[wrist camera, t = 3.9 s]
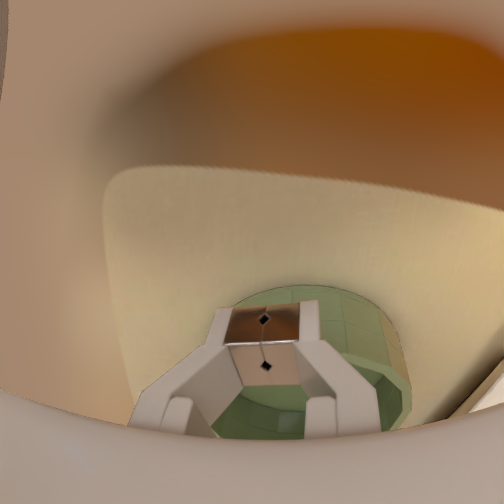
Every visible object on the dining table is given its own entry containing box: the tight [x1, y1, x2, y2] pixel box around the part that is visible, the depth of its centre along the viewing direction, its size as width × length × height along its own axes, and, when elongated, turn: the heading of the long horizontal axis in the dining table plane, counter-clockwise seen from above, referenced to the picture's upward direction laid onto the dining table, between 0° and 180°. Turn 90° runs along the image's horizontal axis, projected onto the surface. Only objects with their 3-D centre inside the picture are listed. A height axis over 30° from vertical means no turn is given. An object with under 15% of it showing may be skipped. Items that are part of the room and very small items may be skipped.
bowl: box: [210, 285, 412, 440], centre depth 19 cm, size 13×13×5 cm
